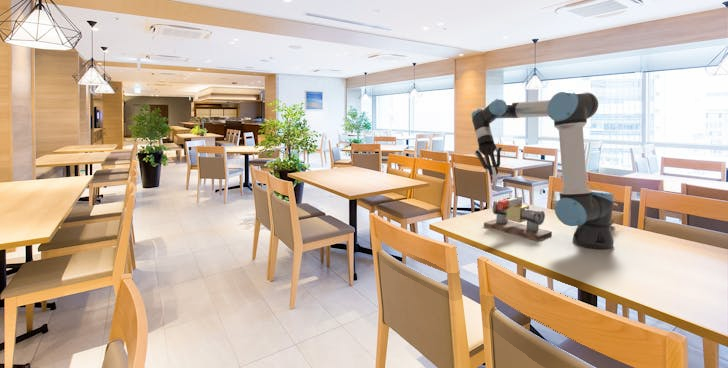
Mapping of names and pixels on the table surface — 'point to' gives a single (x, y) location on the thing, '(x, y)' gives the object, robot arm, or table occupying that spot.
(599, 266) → the table surface
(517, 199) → the valve lever
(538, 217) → the pipe and valve body
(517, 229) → the walnut base board
